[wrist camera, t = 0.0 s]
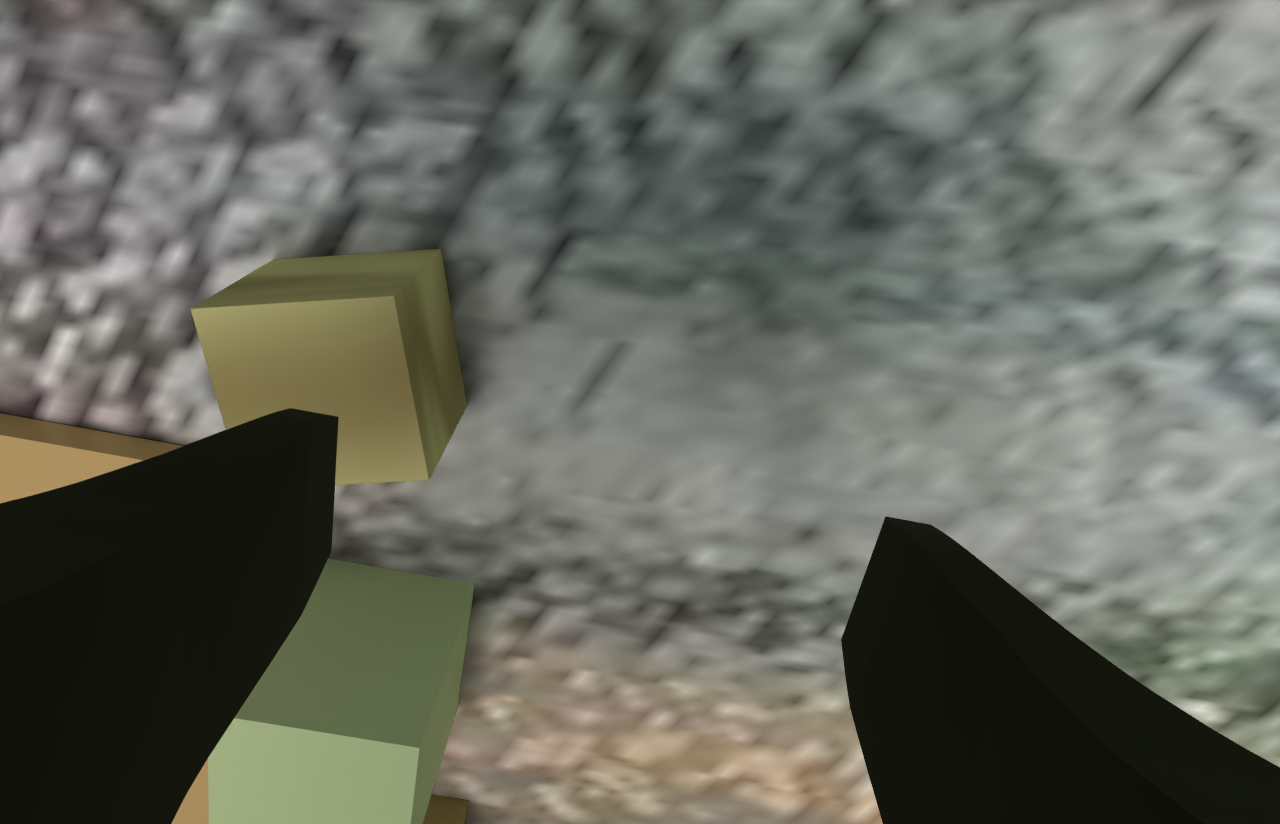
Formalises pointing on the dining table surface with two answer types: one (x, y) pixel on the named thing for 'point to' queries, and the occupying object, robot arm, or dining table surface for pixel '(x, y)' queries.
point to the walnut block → (446, 810)
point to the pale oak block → (343, 355)
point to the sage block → (349, 705)
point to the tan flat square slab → (63, 455)
